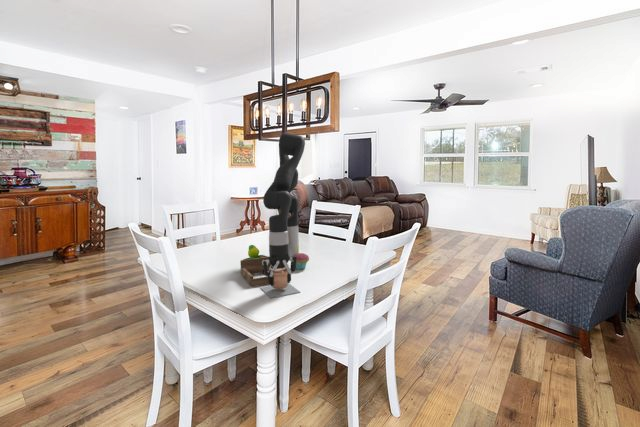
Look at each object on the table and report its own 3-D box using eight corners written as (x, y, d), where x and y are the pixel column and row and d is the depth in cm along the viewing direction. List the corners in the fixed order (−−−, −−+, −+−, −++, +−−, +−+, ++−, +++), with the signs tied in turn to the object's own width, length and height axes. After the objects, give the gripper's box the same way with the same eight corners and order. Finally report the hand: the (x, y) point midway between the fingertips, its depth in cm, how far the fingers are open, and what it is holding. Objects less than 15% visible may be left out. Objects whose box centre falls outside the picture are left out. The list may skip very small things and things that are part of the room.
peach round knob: (269, 284, 133) (268, 270, 133) (284, 282, 136) (284, 267, 136) (275, 290, 128) (274, 274, 127) (291, 287, 131) (290, 272, 130)
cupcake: (288, 269, 160) (288, 244, 159) (296, 264, 168) (295, 241, 166) (305, 271, 157) (304, 246, 155) (312, 266, 165) (311, 242, 163)
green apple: (252, 272, 155) (251, 249, 154) (241, 269, 161) (240, 246, 160) (271, 267, 164) (270, 244, 162) (260, 264, 170) (259, 242, 168)
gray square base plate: (260, 288, 135) (260, 287, 135) (288, 283, 140) (288, 282, 140) (270, 298, 124) (270, 297, 124) (300, 292, 130) (300, 291, 130)
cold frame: (241, 275, 152) (240, 260, 151) (276, 269, 159) (276, 255, 158) (251, 286, 137) (251, 270, 136) (290, 280, 145) (290, 264, 144)
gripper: (292, 238, 136) (292, 278, 139) (257, 242, 130) (259, 284, 132) (299, 242, 130) (300, 283, 132) (264, 246, 123) (265, 290, 125)
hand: (279, 283), depth 132 cm, fingers closed on peach round knob, 6 cm apart
